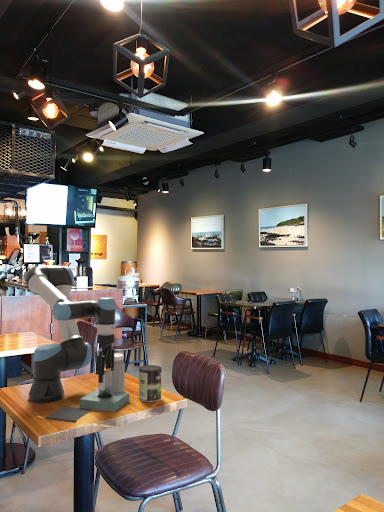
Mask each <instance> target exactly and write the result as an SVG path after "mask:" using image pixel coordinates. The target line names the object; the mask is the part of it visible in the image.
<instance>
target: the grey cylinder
mask: <svg viewBox="0 0 384 512" xmlns="http://www.w3.org/2000/svg"><path fill="white" fill-rule="evenodd" d="M104 374H105V390H99V397H98V398H103V399H105V398H110V391H111V368H110V367H105V370H104Z"/></svg>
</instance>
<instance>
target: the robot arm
mask: <svg viewBox="0 0 384 512" xmlns="http://www.w3.org/2000/svg"><path fill="white" fill-rule="evenodd" d="M74 280H75V277H74V272H73V271H72V269H71V268H70V267H69V266H67V265H61V264H60V265H59V264H58V265H35V266H33V267H32V268H30V269H29V270H28V271H27V272H26V274H25V277H24V282H25V286H26V287H27V288H28V289H29V290H30V292H33V293H36V294H37V295H38V296H39V297H40V298H41V299H42V300H44V302H45V303H46V304H48V306H49V307H51V308H52V310H51V311H52V316H53V319H55V320H56V321H57V325H58V329H59V330H58V331H59V334H60V339H61V340H60V341H59V343H57V342H56V343H55V342H53V343H45V344H42V345H40V346H38V347H36V348H35V349H34V351H33V358H32V361H33V365H32V366H33V367H32V369H33V370H32V371H33V372H32V374H33V375H32V377H33V378H32V383H31V386H30V389H29V392H28V400H29V402H31V403H40V404H43V403H44V404H45V403H50V402H51V403H52V402H56V401H59V400H61V399H63V398H64V397H65V390H64V387H63V383H62V379H61V373H63V372H68V371H73V370H79V369H80V370H81V369H83V368H86V367H87V366H89V365H90V363H91V361H92V356H93V353H92V350H93V349H92V346H91V344H90V343H89V342H85V339H84V337H83V336H82V335H80V331H79V326H78V323H77V320H80V319H91V318H92V319H93V318H94V319H96V320H97V323H96V325H97V326H96V343H97V344H99V347H98V350H95V373H94V374H95V375H98V381H97V385H98V386H97V390H105V374H104V370H105V364H106V367H110V368H111V371H113V370H114V369H112V368H114V353H116V352H115V351H116V350H115V349H116V345H113V344H114V343H115V340H116V334H115V332H116V311H117V310H116V308H117V306H116V298H115V297H105V296H104V297H99V298H98V299H97V300H95V299H88V300H83V301H72V298H71V293H70V291H72V287H73V286H74V282H75V281H74Z"/></svg>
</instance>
